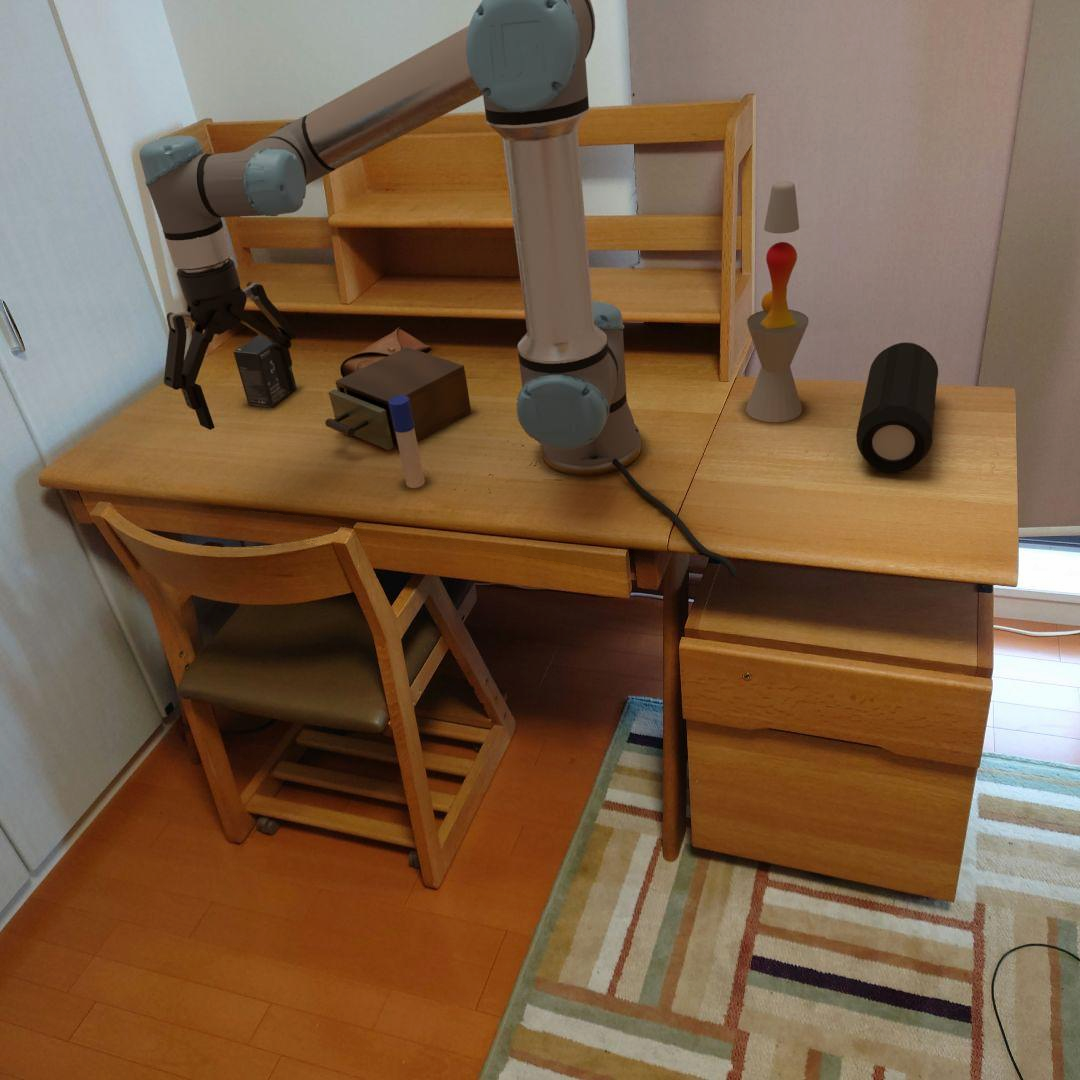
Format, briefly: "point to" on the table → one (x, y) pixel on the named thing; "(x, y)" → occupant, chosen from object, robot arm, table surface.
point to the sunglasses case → (381, 351)
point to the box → (260, 373)
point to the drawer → (362, 418)
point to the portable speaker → (898, 408)
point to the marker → (406, 440)
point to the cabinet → (415, 388)
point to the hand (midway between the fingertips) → (248, 407)
